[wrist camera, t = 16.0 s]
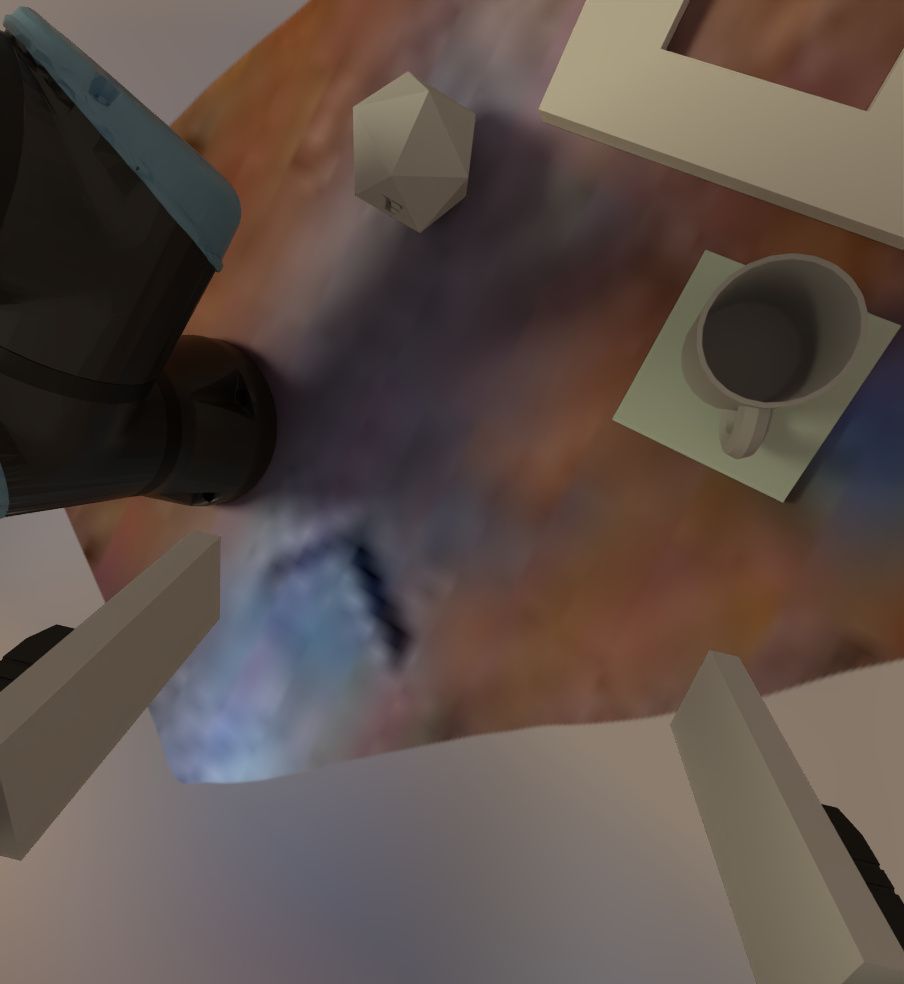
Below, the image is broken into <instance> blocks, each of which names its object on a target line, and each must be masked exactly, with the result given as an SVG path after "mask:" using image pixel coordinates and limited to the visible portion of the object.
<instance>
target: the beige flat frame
mask: <svg viewBox="0 0 904 984" xmlns="http://www.w3.org/2000/svg"><path fill="white" fill-rule="evenodd" d="M689 2H690V0H586V2H585V5H584V7H583V9H582V11H581V14H580V16H579V18H578V21H577V23H576V25H575V27H574V30H573V32H572V34H571V37H570V39H569V41H568V43H567V46H566V48H565V50H564V52H563V55H562V57H561V59H560V62H559V64H558V66H557V68H556V71H555V73H554V75H553V77H552V80H551V82H550V84H549V87H548V89H547V91H546V93H545V96H544V98H543V100H542V103H541V105H540V107H539V113H540V116H541V120H542V122H545V123H548V124H550V125H553V126H556V127H559V128H562V129H564V130H567V131H570V132H573V133H576V134H578V135H581V136H584V137H587V138H590V139H592V140H595V141H598V142H601V143H604V144H606V145H609V146H612V147H615V148H618V149H620V150H623V151H626V152H629V153H632V154H634V155H637V156H640V157H643V158H646V159H648V160H651V161H654V162H657V163H660V164H662V165H665V166H668V167H671V168H674V169H676V170H679V171H682V172H685V173H688V174H690V175H693V176H696V177H699V178H702V179H704V180H707V181H710V182H713V183H716V184H719V185H721V186H724V187H727V188H730V189H733V190H735V191H738V192H741V193H744V194H747V195H749V196H752V197H755V198H758V199H761V200H763V201H766V202H769V203H772V204H775V205H777V206H780V207H783V208H786V209H789V210H791V211H794V212H797V213H800V214H803V215H805V216H808V217H811V218H814V219H817V220H819V221H822V222H825V223H828V224H831V225H833V226H836V227H839V228H842V229H845V230H847V231H850V232H853V233H856V234H859V235H861V236H864V237H867V238H870V239H873V240H875V241H878V242H881V243H884V244H887V245H889V246H892V247H895V248H898V249H901V250H904V48H903V50H902V52H901V53H900V55H899V57H898V59H897V60H896V62H895V64H894V65H893V67H892V69H891V70H890V72H889V74H888V76H887V77H886V79H885V81H884V82H883V84H882V86H881V87H880V89H879V91H878V93H877V94H876V96H875V98H874V99H873V101H872V103H871V104H870V106H869V108H868V110H867V111H864V110H860V109H857V108H854V107H851V106H847V105H844V104H841V103H837V102H834V101H831V100H828V99H824V98H821V97H818V96H814V95H811V94H808V93H805V92H801V91H798V90H795V89H791V88H788V87H785V86H782V85H778V84H775V83H772V82H768V81H765V80H762V79H759V78H755V77H752V76H749V75H745V74H742V73H739V72H735V71H732V70H729V69H726V68H722V67H719V66H716V65H712V64H709V63H706V62H703V61H699V60H696V59H693V58H689V57H686V56H683V55H680V54H676V53H673V52H670V51H666V49H667V47H668V45H669V43H670V41H671V39H672V37H673V35H674V33H675V31H676V28H677V26H678V24H679V22H680V20H681V18H682V16H683V14H684V12H685V10H686V8H687V6H688V4H689Z"/></svg>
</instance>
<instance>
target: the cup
mask: <svg viewBox="0 0 904 984" xmlns="http://www.w3.org/2000/svg"><path fill="white" fill-rule="evenodd" d="M867 327H868V312H867V308H866V304H865V300H864V296H863V294H862V292H861V291H860V289H859V288H858V286H857V285H856V283H855V281H854V280H853V278H852V277H850V276H849V275H848V274H847V273H846V272H844V271H843V270H842V269H841V268H840V267H838V266H837V265H836V264H834V263H831V262H829V261H826V260H824V259H822V258H819V257H817V256H812V255H804V254H797V253H790V254H781V255H772V256H768V257H765V258H763V259H760V260H757V261H754V262H751V263H749V264H747V265H745V266H744V267H742V268H741V269H739V270H738V271H736V272H734V273H733V274H731V275H730V276H729V277H728V278H727V279H726V280H725V281H724V282H723V283H722V284H721V285H720V286H719V287H718V288H717V289H716V290H715V291H714V292H713V293H712V295H711V297H710V298H709V300H708V301H707V303H706V304H705V306H704V308H703V309H702V311H701V312H700V314H699V315H698V317H697V319H696V320H695V322H694V323H693V325H692V327H691V328H690V330H689V332H688V333H687V335H686V338H685V341H684V345H683V348H682V358H681V367H682V370H683V374H684V378H685V381H686V382H687V384H688V385H689V387H690V389H691V390H692V392H693V393H694V394H695V395H696V396H698V397H699V398H700V399H701V400H702V401H703V402H705V403H707V404H709V405H711V406H713V407H715V408H718V409H722V411H721V417H720V424H719V438H720V443H721V447H722V450H723V452H724V453H725V454H727V455H729V456H731V457H733V458H735V459H741V458H745V457H749V456H751V455H753V454H755V452H756V451H757V450H758V448H759V447H760V445H761V444H762V442H763V441H764V439H765V437H766V434H767V432H768V430H769V426H770V423H771V419H772V414H773V409H775V408H782V407H788V406H792V405H796V404H800V403H804V402H808V401H810V400H811V399H813V398H815V397H817V396H819V395H821V394H823V393H825V392H827V391H829V390H830V389H831V388H832V387H833V386H834V385H836V384H837V383H838V382H839V381H840V380H841V379H843V378H844V377H845V376H846V375H847V373H848V372H849V371H850V369H851V368H852V366H853V365H854V364H855V362H856V361H857V359H858V358H859V356H860V353H861V351H862V348H863V346H864V343H865V340H866V338H867Z"/></svg>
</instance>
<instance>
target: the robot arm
mask: <svg viewBox="0 0 904 984" xmlns="http://www.w3.org/2000/svg"><path fill="white" fill-rule="evenodd" d="M3 26H4V27H5V28H6V30H5V32H3V31H1V30H0V519H1V518H4V517H8V516H14V515H20V514H26V513H33V512H39V511H45V510H52V509H58V508H65V507H71V506H77V505H83V504H90V503H96V502H102V501H108V500H115V499H121V498H126V497H133V496H145V497H150V498H154V499H159V500H164V501H169V502H173V503H178V504H183V505H187V506H209V505H214V504H220V503H225V502H229V501H232V500H235V499H237V498H239V497H241V496H242V495H244V494H245V493H247V492H248V491H249V490H250V489H252V488H253V487H254V486H255V485H256V483H257V482H258V481H259V480H260V478H261V477H262V475H263V474H264V472H265V470H266V468H267V466H268V464H269V462H270V459H271V456H272V453H273V449H274V444H275V436H276V417H275V409H274V404H273V400H272V396H271V393H270V390H269V388H268V385H267V383H266V381H265V379H264V377H263V376H262V374H261V372H260V371H259V369H258V368H257V366H256V365H255V364H254V363H253V362H252V360H251V359H250V358H249V357H248V356H247V355H246V354H244V353H243V352H242V351H241V350H239V349H238V348H236V347H235V346H233V345H231V344H229V343H227V342H224V341H221V340H217V339H213V338H208V337H203V336H198V335H181V334H182V332H183V330H184V329H185V327H186V325H187V323H188V321H189V319H190V318H191V316H192V314H193V312H194V310H195V308H196V306H197V305H198V303H199V301H200V299H201V297H202V295H203V294H204V292H205V290H206V288H207V286H208V284H209V282H210V281H211V279H212V277H213V275H214V273H215V271H216V272H221V270H222V268H223V264H222V259H223V257H224V255H225V253H226V251H227V249H228V247H229V245H230V243H231V241H232V238H233V236H234V234H235V232H236V230H237V228H238V226H239V223H240V219H241V205H240V201H239V198H238V195H237V193H236V191H235V189H234V188H233V187H232V185H231V184H230V183H229V182H228V181H227V180H226V178H225V177H224V176H223V175H222V174H220V173H219V172H218V171H217V170H216V169H215V168H214V167H213V166H212V165H211V164H210V163H209V162H208V161H207V160H205V159H204V158H203V157H202V156H201V155H200V154H199V153H198V152H197V151H196V150H195V149H193V148H192V147H191V146H190V145H189V144H188V143H187V142H186V141H185V140H183V139H182V138H181V137H180V136H179V135H178V134H177V133H176V132H174V131H173V130H172V129H171V128H170V127H169V126H168V125H167V124H165V123H164V122H163V121H162V120H161V119H160V118H159V117H157V116H156V115H155V114H154V113H153V112H152V111H151V110H150V109H148V108H147V107H146V106H145V105H144V104H143V103H141V102H140V101H139V100H138V99H137V98H136V97H134V95H132V94H131V93H130V92H129V91H128V90H127V89H125V87H124V86H122V85H121V84H120V83H119V82H118V81H117V80H116V79H114V78H113V77H112V76H111V75H110V74H109V73H107V72H106V71H105V70H104V69H103V68H102V67H101V66H99V65H98V64H97V63H96V62H95V61H94V60H92V59H91V58H90V57H89V56H88V55H87V54H85V53H84V52H83V51H82V50H81V49H80V48H79V47H77V46H76V45H75V44H74V43H73V42H71V41H70V40H69V39H68V38H66V37H65V36H64V35H63V34H62V33H60V32H59V31H57V29H55V28H54V27H53V26H52V25H51V24H49V23H48V22H47V21H46V20H45V19H43V18H42V17H41V16H40V15H39V14H38V13H37V12H35V11H34V10H32V9H31V8H28V7H19V8H17V9H16V10H15V11H14V13H13V14H12V15H6V16H5V17H4V21H3ZM220 545H221V536H217V535H213V534H208V533H204V532H200V531H195V530H192V531H191V532H189V533H188V534H187V535H186V536H185V537H183V538H182V539H181V540H180V541H179V542H178V543H176V544H175V545H174V546H173V547H172V548H170V549H169V550H168V551H167V552H166V553H165V554H163V555H162V556H161V557H160V558H159V559H157V560H156V561H155V562H154V563H153V564H151V565H150V566H149V567H148V568H147V569H146V570H144V571H143V572H142V573H141V574H140V575H138V576H137V577H136V578H135V579H134V580H133V581H131V582H130V583H129V584H128V585H127V586H125V587H124V588H123V589H122V590H121V591H120V592H118V593H117V594H116V595H115V596H114V597H112V598H111V599H110V600H109V601H108V602H106V603H105V604H104V605H103V606H102V607H101V608H99V609H98V610H97V611H96V612H95V613H93V614H92V615H91V616H90V617H89V618H88V619H86V620H85V621H84V622H83V623H82V624H81V625H79V626H78V627H77V628H76V629H74V628H69V627H65V626H61V625H54V626H52V627H50V628H48V629H46V630H43V631H41V632H39V633H37V634H35V635H33V636H30V637H28V638H26V639H25V640H24V641H22V642H21V643H20V644H19V645H17V646H16V647H15V648H14V649H12V650H11V651H10V652H8V653H7V654H6V655H5V656H3V659H2V660H1V661H0V856H4V857H9V858H13V859H17V860H20V861H21V860H22V859H23V858H24V857H25V855H26V854H27V853H28V852H29V850H30V849H31V848H32V847H33V846H34V844H35V843H36V842H37V841H38V840H39V838H40V837H41V836H42V834H43V833H44V832H45V831H46V830H47V828H48V827H49V826H50V825H51V823H52V822H53V821H54V820H55V819H56V817H57V816H58V815H59V814H60V813H61V811H62V810H63V809H64V808H65V807H66V805H67V804H68V803H69V802H70V800H71V799H72V798H73V797H74V796H75V794H76V793H77V792H78V791H79V789H80V788H81V787H82V786H83V784H84V783H85V782H86V781H87V780H88V778H89V777H90V776H91V775H92V773H93V772H94V771H95V770H96V769H97V767H98V766H99V765H100V764H101V763H102V761H103V760H104V759H105V757H106V756H107V755H108V754H109V753H110V752H111V750H112V749H113V748H114V747H115V745H116V744H117V743H118V742H119V741H120V739H121V738H122V737H123V736H124V735H125V733H126V732H127V730H129V728H130V727H131V726H132V725H133V724H134V722H135V721H136V720H137V718H138V717H139V716H140V715H141V714H142V713H143V711H144V710H145V709H146V708H147V706H148V705H149V704H150V703H151V702H152V700H153V699H154V698H155V697H156V695H157V694H158V693H159V692H160V691H161V689H162V688H163V687H164V686H165V684H166V683H167V682H168V681H169V680H170V678H171V677H172V676H173V675H174V673H175V672H176V671H177V670H178V669H179V667H180V666H181V665H182V664H183V662H184V661H185V660H186V659H187V658H188V656H189V655H190V654H191V653H192V651H193V650H194V649H195V648H196V647H197V645H198V644H199V643H200V642H201V640H202V639H203V638H204V637H205V636H206V634H207V633H208V632H209V631H210V629H211V628H212V627H213V626H214V625H215V623H216V622H217V621H218V620H219V618H220ZM670 725H671V728H672V731H673V734H674V737H675V740H676V743H677V746H678V749H679V752H680V755H681V758H682V761H683V764H684V767H685V770H686V773H687V776H688V779H689V782H690V785H691V788H692V791H693V794H694V797H695V800H696V803H697V806H698V809H699V812H700V815H701V818H702V821H703V824H704V827H705V830H706V833H707V836H708V839H709V842H710V845H711V848H712V851H713V854H714V857H715V860H716V863H717V866H718V869H719V872H720V875H721V878H722V881H723V884H724V887H725V890H726V893H727V896H728V899H729V902H730V905H731V908H732V911H733V914H734V917H735V920H736V923H737V926H738V929H739V932H740V935H741V939H742V941H743V944H744V947H745V951H746V954H747V956H748V959H749V962H750V965H751V968H752V971H753V974H754V978H755V980H756V984H904V904H903V902H902V900H901V899H900V897H899V895H896V894H895V893H894V887H893V885H892V884H891V882H890V880H889V879H888V877H887V875H886V874H885V872H884V870H881V869H880V867H879V865H880V864H879V862H878V860H877V859H876V857H875V856H874V854H873V852H872V850H871V849H870V847H869V845H868V844H867V842H866V840H865V839H864V837H863V835H862V834H861V833H860V832H859V831H858V830H857V829H856V828H855V827H854V826H853V824H852V823H851V822H850V821H849V820H848V819H847V818H846V817H845V816H844V815H843V813H842V812H841V811H840V810H839V809H838V808H835V807H832V806H827V805H823V804H821V803H820V801H819V799H818V798H817V796H816V794H815V792H814V790H813V789H812V787H811V785H810V783H809V781H808V780H807V778H806V776H805V774H804V773H803V771H802V769H801V767H800V765H799V764H798V762H797V760H796V758H795V757H794V755H793V753H792V751H791V750H790V748H789V746H788V744H787V742H786V741H785V739H784V737H783V736H782V733H781V732H780V730H779V728H778V726H777V725H776V723H775V721H774V719H773V717H772V715H771V714H770V712H769V710H768V708H767V707H766V705H765V703H764V701H763V699H762V698H761V696H760V694H759V692H758V691H757V689H756V687H755V685H754V683H753V682H752V680H751V678H750V676H749V674H748V673H747V671H746V669H745V667H744V666H743V664H742V662H741V660H740V658H739V657H737V656H733V655H728V654H724V653H720V652H715V651H711V650H709V652H708V654H707V656H706V658H705V660H704V662H703V664H702V666H701V667H700V669H699V671H698V673H697V675H696V677H695V679H694V681H693V683H692V684H691V686H690V688H689V690H688V692H687V694H686V696H685V698H684V700H683V701H682V703H681V705H680V707H679V709H678V711H677V713H676V715H675V717H674V718H673V720H672V722H671V724H670Z"/></svg>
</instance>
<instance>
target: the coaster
mask: <svg viewBox="0 0 904 984" xmlns="http://www.w3.org/2000/svg"><path fill="white" fill-rule="evenodd" d="M744 266H745V265H744V264H741V263H738V262H736V261H733V260H731V259H728V258H726V257H723V256H720V255H718V254H715V253H713V252H710V251H708V250H705V252H704V254H703V255H702V257H701V259H700V261H699V263H698V264H697V266H696V268H695V270H694V272H693V274H692V275H691V277H690V279H689V281H688V283H687V284H686V286H685V288H684V290H683V292H682V293H681V295H680V297H679V299H678V301H677V303H676V304H675V306H674V308H673V310H672V312H671V313H670V315H669V317H668V319H667V321H666V323H665V324H664V326H663V328H662V330H661V332H660V333H659V335H658V337H657V339H656V341H655V343H654V344H653V346H652V348H651V350H650V352H649V353H648V355H647V357H646V359H645V361H644V363H643V364H642V366H641V368H640V370H639V372H638V373H637V375H636V377H635V379H634V381H633V383H632V384H631V386H630V388H629V390H628V392H627V393H626V395H625V397H624V399H623V401H622V403H621V404H620V406H619V408H618V410H617V412H616V413H615V415H614V417H613V419H612V420H614V421H616V422H618V423H620V424H622V425H624V426H626V427H628V428H630V429H632V430H634V431H636V432H638V433H640V434H642V435H645V436H647V437H649V438H651V439H653V440H655V441H657V442H659V443H661V444H663V445H665V446H667V447H669V448H671V449H673V450H675V451H678V452H680V453H682V454H684V455H686V456H688V457H690V458H692V459H694V460H696V461H698V462H700V463H702V464H704V465H706V466H708V467H711V468H713V469H715V470H717V471H719V472H721V473H723V474H725V475H727V476H729V477H731V478H733V479H735V480H737V481H739V482H741V483H744V484H746V485H748V486H750V487H752V488H754V489H756V490H758V491H760V492H762V493H764V494H766V495H768V496H770V497H772V498H774V499H777V500H779V501H781V502H784V500H785V499H786V497H787V496H788V494H789V493H790V491H791V490H792V488H793V487H794V485H795V484H796V482H797V481H798V479H799V478H800V476H801V475H802V473H803V472H804V470H805V469H806V467H807V466H808V464H809V463H810V461H811V460H812V458H813V457H814V455H815V454H816V452H817V451H818V449H819V448H820V446H821V445H822V443H823V442H824V440H825V439H826V437H827V436H828V435H829V433H830V432H831V430H832V429H833V427H834V426H835V424H836V423H837V421H838V420H839V418H840V417H841V415H842V414H843V412H844V411H845V409H846V408H847V406H848V405H849V403H850V402H851V400H852V399H853V397H854V396H855V394H856V393H857V391H858V390H859V388H860V387H861V385H862V384H863V382H864V381H865V379H866V378H867V376H868V375H869V373H870V372H871V370H872V369H873V367H874V366H875V364H876V363H877V361H878V360H879V358H880V357H881V355H882V354H883V352H884V351H885V349H886V348H887V346H888V345H889V343H890V342H891V340H892V339H893V337H894V336H895V334H896V333H897V331H898V330H899V328H900V327H901V325H898V324H896V323H893V322H890V321H888V320H885V319H883V318H880V317H878V316H875V315H872V314H870V313H868V327H867V338H866V340H865V343H864V346H863V348H862V351H861V353H860V356H859V358H858V359H857V361H856V362H855V364H854V365H853V366H852V368H851V369H850V371H849V372H848V373H847V375H846V376H845V377H844V378H843V379H841V380H840V381H839V382H838V383H837V384H836V385H834V386H833V387H832V388H831V389H830V390H829V391H827V392H825V393H823V394H821V395H819V396H817V397H815V398H813V399H811V400H810V401H808V402H804V403H800V404H796V405H792V406H788V407H782V408H775V409H773V414H772V419H771V423H770V426H769V430H768V432H767V434H766V437H765V439H764V441H763V442H762V444H761V445H760V447H759V448H758V450H757V451H756V452H755V454H753V455H751V456H749V457H745V458H741V459H735V458H733V457H731V456H729V455H727V454H725V453H724V452H723V450H722V447H721V443H720V438H719V424H720V417H721V411H722V409H718V408H715V407H713V406H711V405H709V404H707V403H705V402H703V401H702V400H701V399H700V398H699V397H698V396H696V395H695V394H694V393H693V392H692V390H691V389H690V387H689V385H688V384H687V382H686V381H685V378H684V374H683V370H682V367H681V358H682V348H683V345H684V341H685V338H686V335H687V333H688V332H689V330H690V328H691V327H692V325H693V323H694V322H695V320H696V319H697V317H698V315H699V314H700V312H701V311H702V309H703V308H704V306H705V304H706V303H707V301H708V300H709V298H710V297H711V295H712V293H713V292H714V291H715V290H716V289H717V288H718V287H719V286H720V285H721V284H722V283H723V282H724V281H725V280H726V279H727V278H728V277H729V276H730V275H731V274H733V273H734V272H736V271H738V270H739V269H741V268H742V267H744Z"/></svg>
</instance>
